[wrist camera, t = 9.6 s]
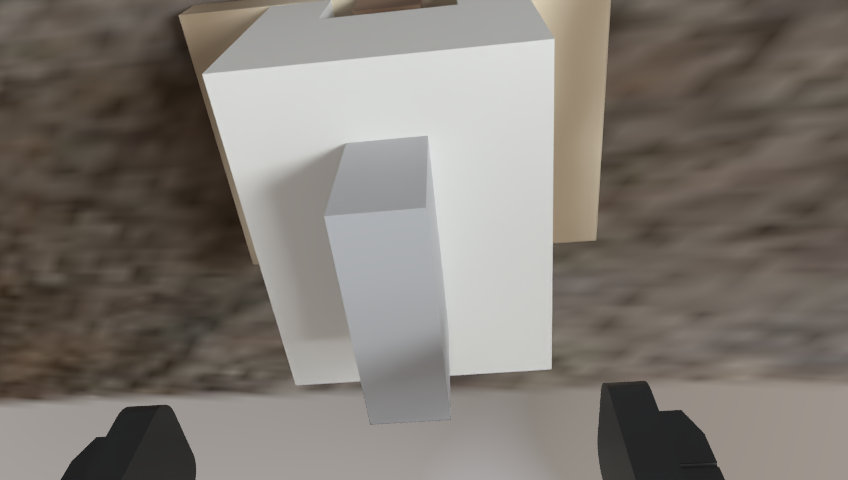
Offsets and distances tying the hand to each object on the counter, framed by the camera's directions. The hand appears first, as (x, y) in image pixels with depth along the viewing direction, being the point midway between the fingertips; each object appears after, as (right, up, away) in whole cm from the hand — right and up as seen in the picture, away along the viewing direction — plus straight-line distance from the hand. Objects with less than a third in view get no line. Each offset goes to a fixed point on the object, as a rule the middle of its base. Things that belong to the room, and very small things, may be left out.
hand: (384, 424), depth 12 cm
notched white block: (0, +7, +11) cm, 13 cm away
